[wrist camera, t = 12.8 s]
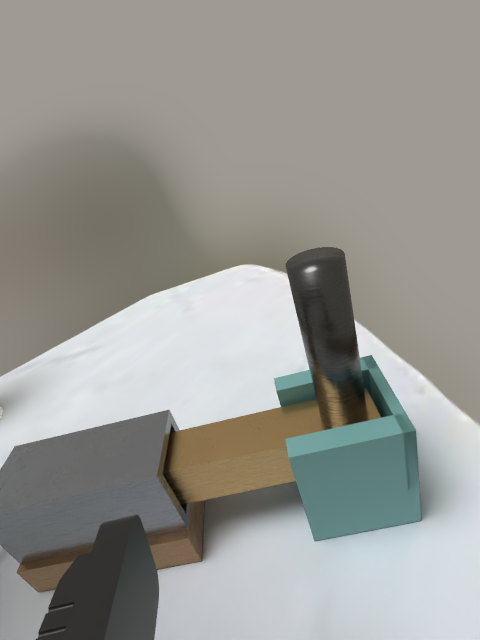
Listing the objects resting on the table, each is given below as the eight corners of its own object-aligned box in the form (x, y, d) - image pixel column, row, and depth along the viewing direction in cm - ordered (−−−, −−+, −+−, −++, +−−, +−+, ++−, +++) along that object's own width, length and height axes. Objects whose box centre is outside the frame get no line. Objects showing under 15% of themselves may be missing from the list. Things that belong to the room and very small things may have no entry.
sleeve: (38, 592, 24) (-35, 526, 20) (71, 505, 29) (18, 440, 26) (201, 560, 23) (155, 484, 19) (206, 476, 28) (170, 404, 24)
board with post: (156, 510, 23) (51, 344, 17) (164, 468, 25) (74, 312, 19) (388, 461, 21) (365, 260, 15) (371, 422, 24) (345, 238, 18)
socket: (314, 541, 22) (288, 457, 18) (296, 455, 27) (274, 378, 24) (421, 520, 21) (416, 430, 18) (381, 437, 27) (371, 355, 23)
